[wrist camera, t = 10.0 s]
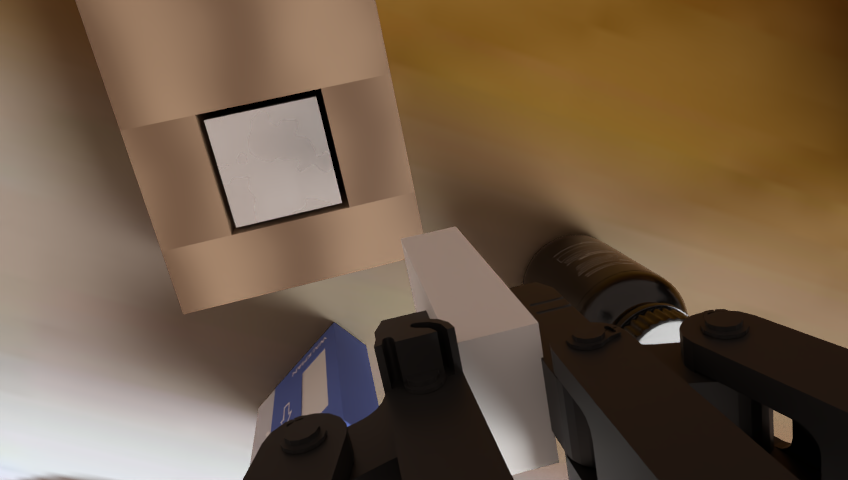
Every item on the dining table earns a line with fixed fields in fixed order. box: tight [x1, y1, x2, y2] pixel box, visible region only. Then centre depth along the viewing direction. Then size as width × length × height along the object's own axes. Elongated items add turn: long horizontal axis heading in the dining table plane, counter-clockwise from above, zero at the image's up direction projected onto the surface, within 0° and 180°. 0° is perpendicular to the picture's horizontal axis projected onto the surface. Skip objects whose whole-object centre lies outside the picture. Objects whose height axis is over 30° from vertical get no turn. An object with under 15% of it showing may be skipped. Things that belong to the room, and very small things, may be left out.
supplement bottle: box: [523, 235, 689, 344], centre depth 36 cm, size 7×7×12 cm
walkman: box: [250, 322, 379, 465], centre depth 34 cm, size 8×3×12 cm, turn 138°
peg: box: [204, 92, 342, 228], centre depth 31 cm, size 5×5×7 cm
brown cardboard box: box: [75, 0, 423, 315], centre depth 30 cm, size 12×24×8 cm, turn 12°
